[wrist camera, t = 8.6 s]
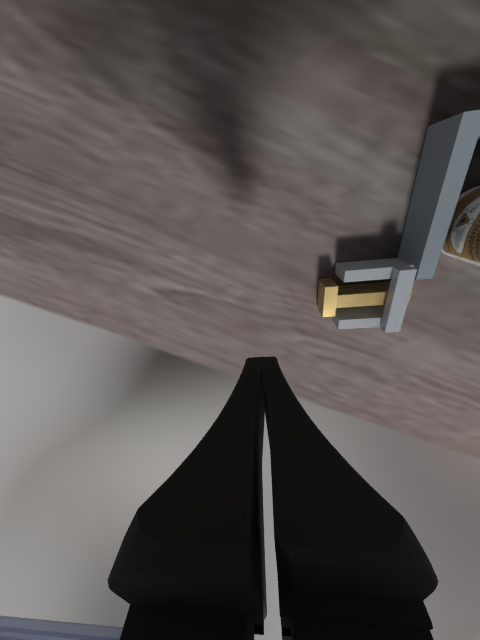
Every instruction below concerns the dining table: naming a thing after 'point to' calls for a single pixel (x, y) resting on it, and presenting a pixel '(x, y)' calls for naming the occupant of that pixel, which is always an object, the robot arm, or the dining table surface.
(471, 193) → the pill bottle
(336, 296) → the lock bar
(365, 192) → the dining table surface
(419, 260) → the dock bay
